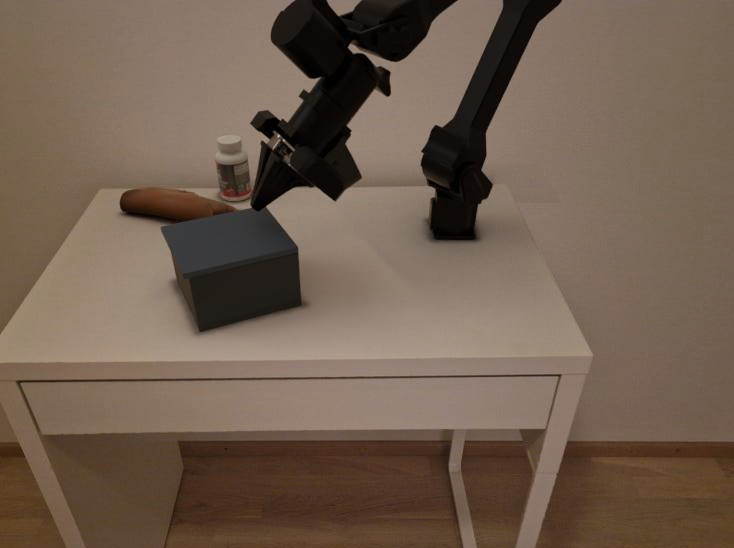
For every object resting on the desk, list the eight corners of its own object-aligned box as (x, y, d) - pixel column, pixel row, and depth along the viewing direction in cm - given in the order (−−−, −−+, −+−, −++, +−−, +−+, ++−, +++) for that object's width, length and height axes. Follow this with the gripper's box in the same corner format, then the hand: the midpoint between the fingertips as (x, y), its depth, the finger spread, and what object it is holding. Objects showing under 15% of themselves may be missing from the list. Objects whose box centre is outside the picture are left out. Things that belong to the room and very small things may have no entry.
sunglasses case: (241, 207, 98) (227, 182, 92) (226, 243, 96) (210, 220, 90) (150, 191, 103) (130, 167, 97) (134, 226, 101) (112, 203, 95)
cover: (183, 279, 68) (182, 273, 67) (161, 232, 77) (160, 226, 76) (298, 252, 72) (298, 246, 72) (265, 210, 81) (264, 204, 81)
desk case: (199, 332, 73) (188, 278, 68) (177, 281, 82) (166, 231, 77) (301, 305, 77) (298, 253, 72) (269, 260, 86) (265, 210, 81)
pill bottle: (214, 196, 103) (205, 139, 96) (237, 186, 106) (230, 130, 100) (235, 205, 100) (227, 147, 94) (258, 194, 103) (252, 137, 97)
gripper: (411, 169, 68) (326, 273, 72) (346, 121, 81) (277, 212, 85) (348, 108, 61) (257, 228, 65) (287, 67, 74) (215, 168, 78)
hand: (253, 208), depth 73 cm, fingers closed
